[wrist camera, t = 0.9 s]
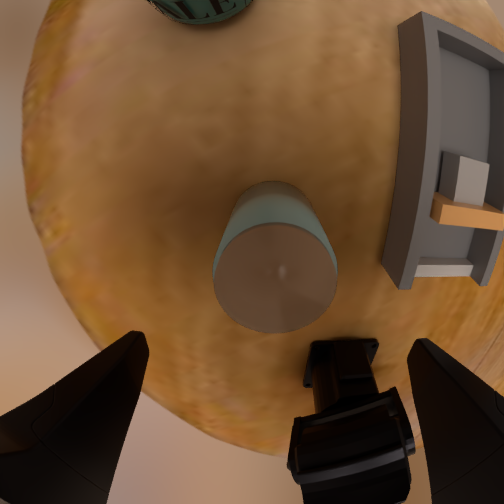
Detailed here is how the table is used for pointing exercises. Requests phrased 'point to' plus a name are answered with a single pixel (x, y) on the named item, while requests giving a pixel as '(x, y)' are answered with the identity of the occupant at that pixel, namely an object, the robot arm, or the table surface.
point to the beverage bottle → (200, 9)
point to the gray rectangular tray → (444, 149)
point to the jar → (274, 261)
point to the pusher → (464, 195)
